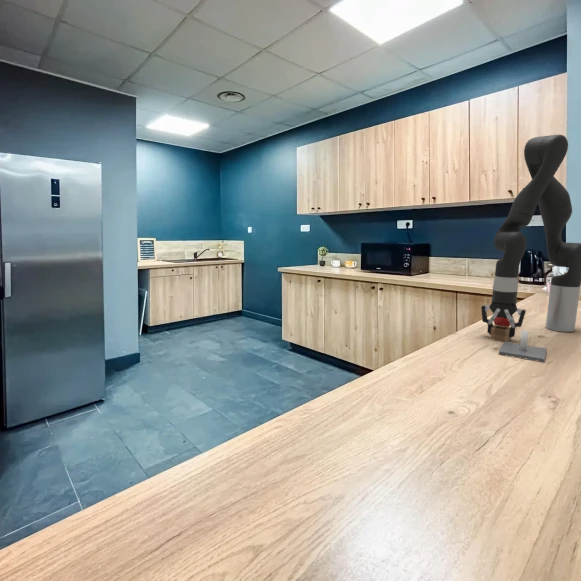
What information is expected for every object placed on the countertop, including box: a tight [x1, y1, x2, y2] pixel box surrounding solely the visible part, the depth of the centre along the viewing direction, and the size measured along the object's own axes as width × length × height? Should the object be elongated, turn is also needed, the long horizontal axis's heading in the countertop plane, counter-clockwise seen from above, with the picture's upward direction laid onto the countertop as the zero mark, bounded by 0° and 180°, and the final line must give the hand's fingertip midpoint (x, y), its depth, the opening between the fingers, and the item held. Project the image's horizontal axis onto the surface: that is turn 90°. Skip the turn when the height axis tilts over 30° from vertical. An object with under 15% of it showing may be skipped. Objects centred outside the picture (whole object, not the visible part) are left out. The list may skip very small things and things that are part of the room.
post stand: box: [498, 330, 547, 363], centre depth 120 cm, size 12×12×7 cm
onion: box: [493, 317, 511, 327], centre depth 145 cm, size 6×6×8 cm
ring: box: [489, 324, 511, 342], centre depth 135 cm, size 6×6×4 cm
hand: (500, 335), depth 135 cm, fingers open, 5 cm apart
